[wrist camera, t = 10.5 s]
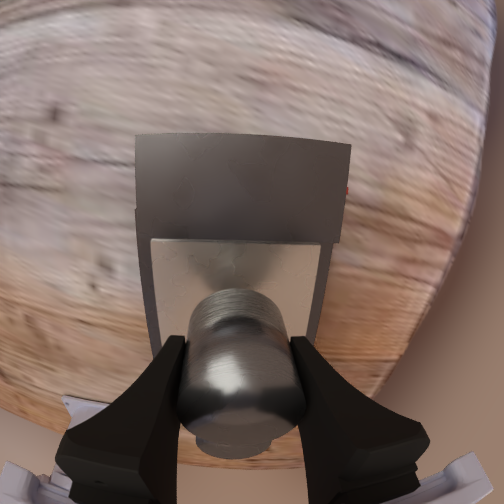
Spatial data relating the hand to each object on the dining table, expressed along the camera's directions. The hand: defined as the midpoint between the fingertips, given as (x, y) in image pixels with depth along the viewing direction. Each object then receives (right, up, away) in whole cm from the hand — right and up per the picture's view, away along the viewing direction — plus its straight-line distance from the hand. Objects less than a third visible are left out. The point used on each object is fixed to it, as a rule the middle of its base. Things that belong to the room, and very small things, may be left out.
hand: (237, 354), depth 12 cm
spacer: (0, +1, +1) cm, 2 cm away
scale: (-1, +1, +7) cm, 7 cm away
